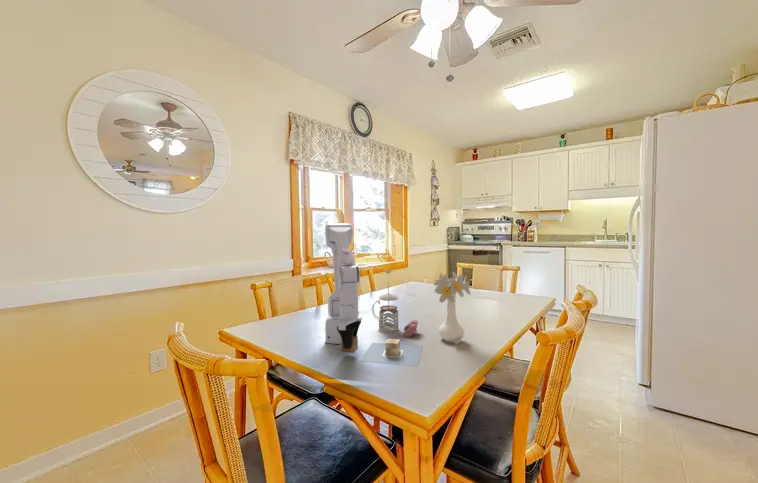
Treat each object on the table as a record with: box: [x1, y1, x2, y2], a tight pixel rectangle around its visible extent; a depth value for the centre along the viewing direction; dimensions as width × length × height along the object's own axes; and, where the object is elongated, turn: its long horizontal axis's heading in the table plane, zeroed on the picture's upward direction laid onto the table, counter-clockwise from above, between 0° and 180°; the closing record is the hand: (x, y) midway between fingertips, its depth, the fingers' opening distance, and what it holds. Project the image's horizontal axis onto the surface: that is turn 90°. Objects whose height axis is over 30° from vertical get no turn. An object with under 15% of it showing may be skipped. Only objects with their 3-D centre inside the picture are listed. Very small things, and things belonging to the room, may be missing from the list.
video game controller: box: [401, 319, 419, 338], centre depth 121 cm, size 10×5×7 cm, turn 169°
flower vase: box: [433, 271, 472, 345], centre depth 112 cm, size 13×18×25 cm
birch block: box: [385, 338, 401, 356], centre depth 101 cm, size 4×4×4 cm
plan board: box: [359, 342, 424, 367], centre depth 102 cm, size 18×16×1 cm
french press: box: [371, 269, 402, 334], centre depth 126 cm, size 10×12×25 cm
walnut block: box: [341, 335, 359, 354], centre depth 100 cm, size 4×4×4 cm
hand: (349, 345), depth 100 cm, fingers closed on walnut block, 4 cm apart
